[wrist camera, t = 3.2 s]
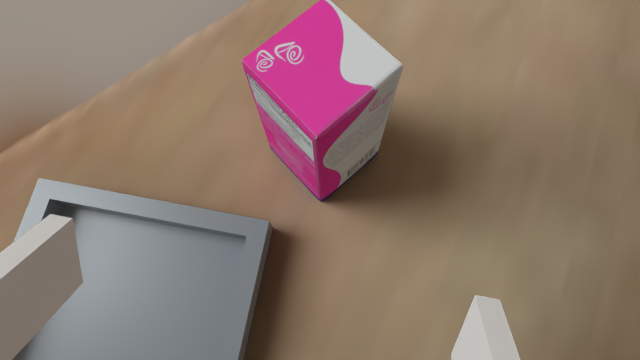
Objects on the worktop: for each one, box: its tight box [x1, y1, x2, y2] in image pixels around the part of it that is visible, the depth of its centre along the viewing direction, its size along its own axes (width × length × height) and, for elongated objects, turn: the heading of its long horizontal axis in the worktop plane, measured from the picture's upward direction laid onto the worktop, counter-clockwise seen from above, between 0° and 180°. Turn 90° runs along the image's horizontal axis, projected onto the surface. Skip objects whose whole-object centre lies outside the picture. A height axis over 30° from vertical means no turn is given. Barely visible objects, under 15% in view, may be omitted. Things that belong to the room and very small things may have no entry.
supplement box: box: [242, 0, 403, 202], centre depth 26 cm, size 6×6×12 cm
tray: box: [12, 178, 273, 360], centre depth 27 cm, size 15×15×2 cm
